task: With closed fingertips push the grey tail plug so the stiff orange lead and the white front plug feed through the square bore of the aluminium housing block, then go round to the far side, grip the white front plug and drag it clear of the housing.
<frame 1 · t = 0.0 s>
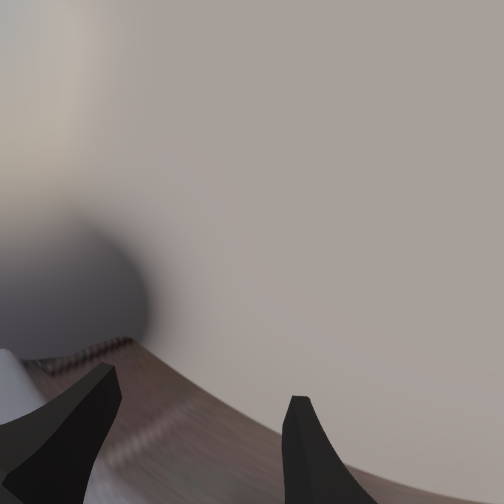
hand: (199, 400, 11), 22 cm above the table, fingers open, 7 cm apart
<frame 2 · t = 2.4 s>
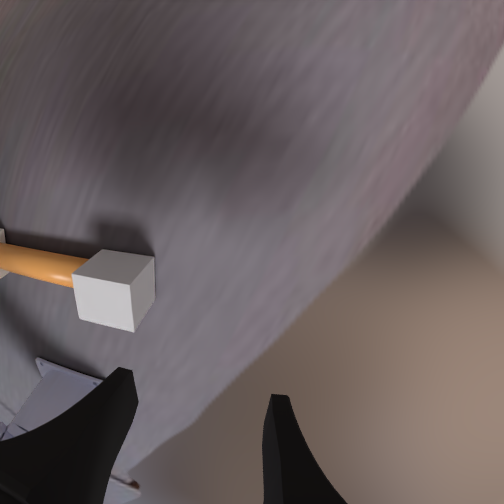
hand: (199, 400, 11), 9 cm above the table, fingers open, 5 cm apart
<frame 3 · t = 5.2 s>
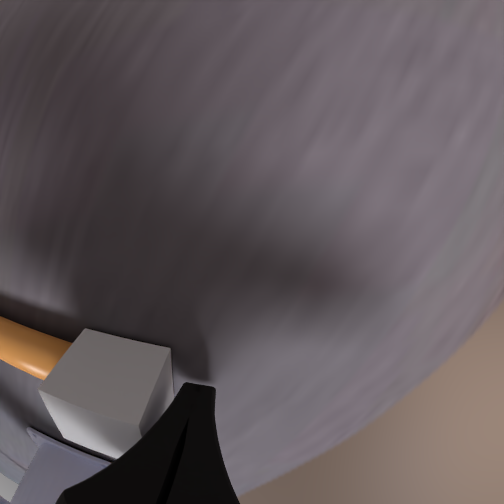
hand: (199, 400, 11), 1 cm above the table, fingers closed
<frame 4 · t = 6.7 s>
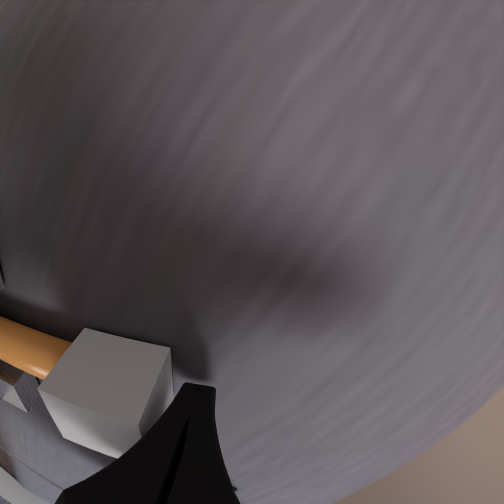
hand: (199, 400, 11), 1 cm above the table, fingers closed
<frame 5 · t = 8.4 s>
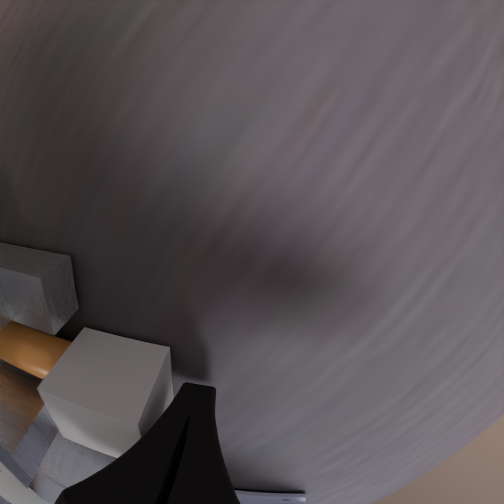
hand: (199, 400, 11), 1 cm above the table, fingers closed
housing: (17, 329, 12), on the table
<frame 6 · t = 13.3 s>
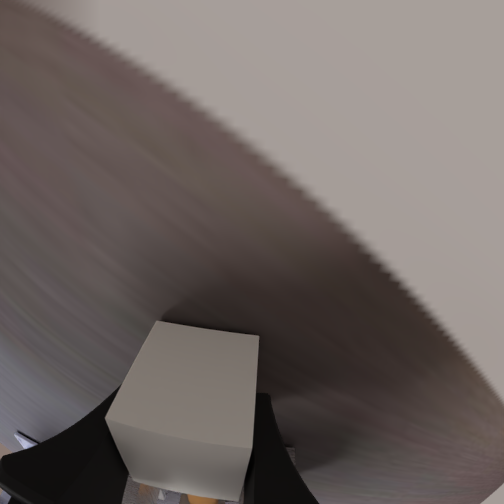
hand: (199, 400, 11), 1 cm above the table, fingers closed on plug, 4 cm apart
plug: (205, 370, 12), on the table, touching gripper
housing: (204, 458, 15), on the table
when the fingers open (2 cm above the table, at t = 15.2 s): plug stays where it is, on the table.
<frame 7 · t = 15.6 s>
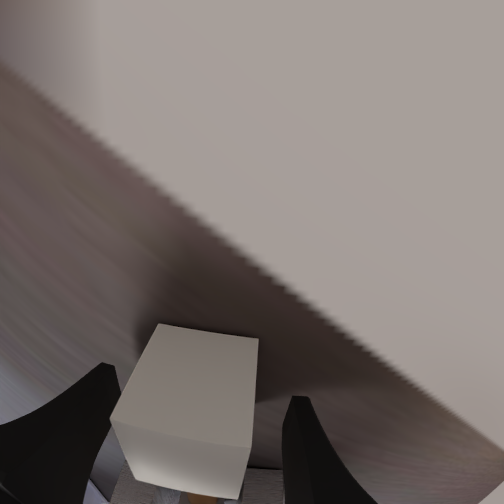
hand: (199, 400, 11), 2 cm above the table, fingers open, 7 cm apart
plug: (205, 371, 12), on the table
housing: (204, 476, 16), on the table
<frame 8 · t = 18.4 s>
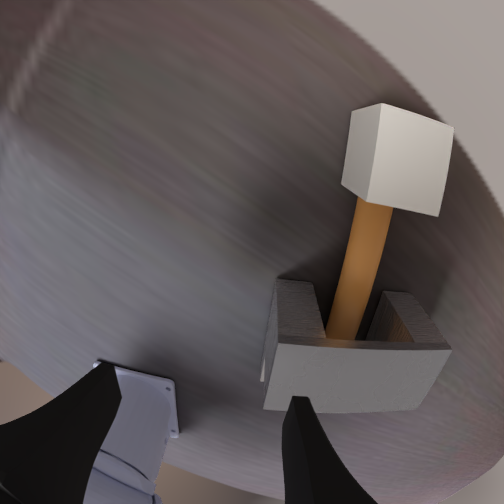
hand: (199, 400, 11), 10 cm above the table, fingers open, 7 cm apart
plug: (377, 154, 16), on the table
housing: (340, 317, 20), on the table
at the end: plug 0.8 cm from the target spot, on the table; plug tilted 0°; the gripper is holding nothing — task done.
